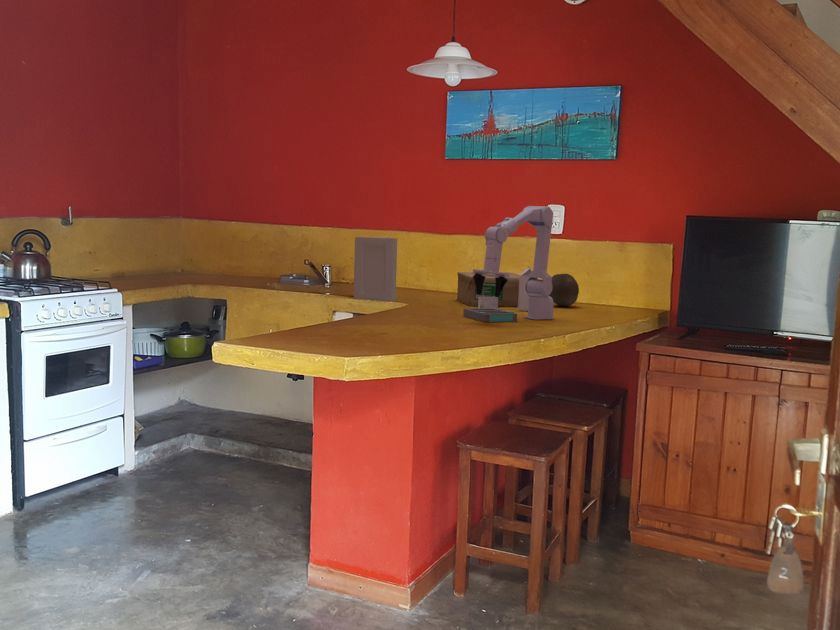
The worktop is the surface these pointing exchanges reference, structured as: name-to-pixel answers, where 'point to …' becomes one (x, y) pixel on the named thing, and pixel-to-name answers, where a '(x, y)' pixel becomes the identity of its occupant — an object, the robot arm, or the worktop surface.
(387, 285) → the grooved grey upright panel
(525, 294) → the milk carton
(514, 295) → the paper package
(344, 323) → the worktop surface
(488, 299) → the grey slab
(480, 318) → the slot rack
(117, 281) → the worktop surface
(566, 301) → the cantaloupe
